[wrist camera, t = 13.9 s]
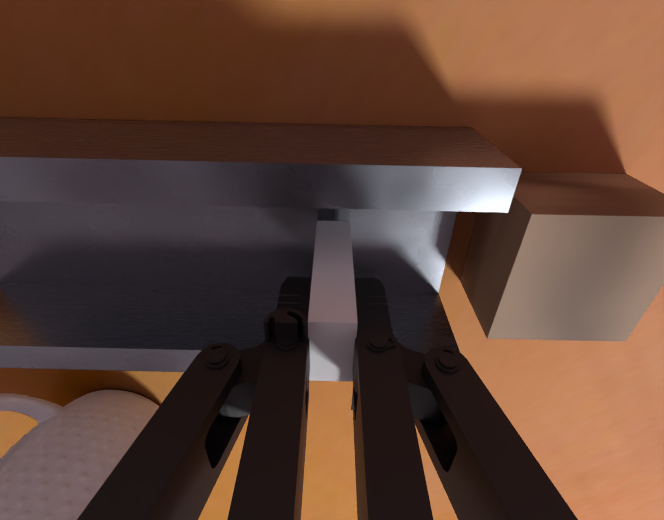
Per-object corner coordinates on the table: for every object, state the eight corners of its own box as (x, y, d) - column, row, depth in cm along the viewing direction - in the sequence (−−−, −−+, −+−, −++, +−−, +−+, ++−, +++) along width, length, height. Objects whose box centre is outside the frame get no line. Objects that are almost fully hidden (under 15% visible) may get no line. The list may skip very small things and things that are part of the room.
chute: (17, 296, 21) (-63, 366, 17) (-94, 115, 15) (-257, 151, 11) (431, 306, 21) (454, 378, 17) (471, 127, 15) (522, 168, 11)
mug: (-36, 369, 25) (-334, 646, 14) (64, 307, 21) (-224, 608, 10) (134, 465, 32) (26, 699, 21) (229, 430, 28) (161, 687, 17)
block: (459, 278, 20) (487, 338, 16) (487, 169, 16) (531, 214, 13) (571, 280, 20) (625, 341, 16) (623, 172, 16) (708, 217, 13)
